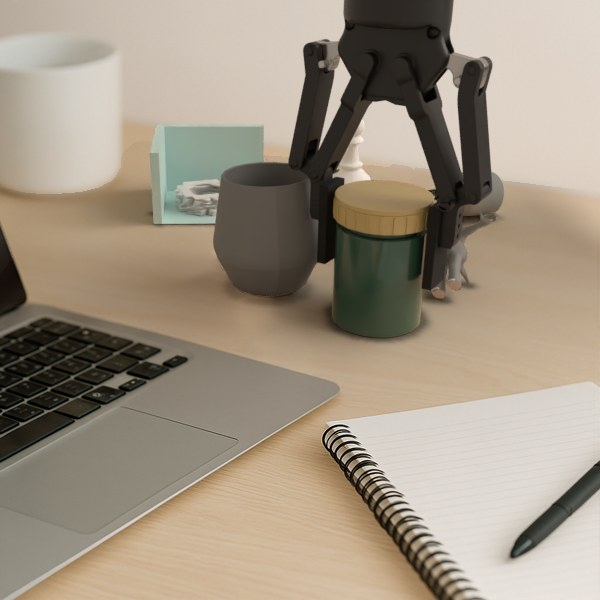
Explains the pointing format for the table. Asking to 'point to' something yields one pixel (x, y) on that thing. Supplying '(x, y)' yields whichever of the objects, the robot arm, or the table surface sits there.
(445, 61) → the robot arm
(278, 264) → the cup
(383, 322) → the jar
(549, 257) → the table surface
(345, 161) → the chess pawn
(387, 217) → the jar lid
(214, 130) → the l-shaped corner panel
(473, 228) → the elephant figurine
